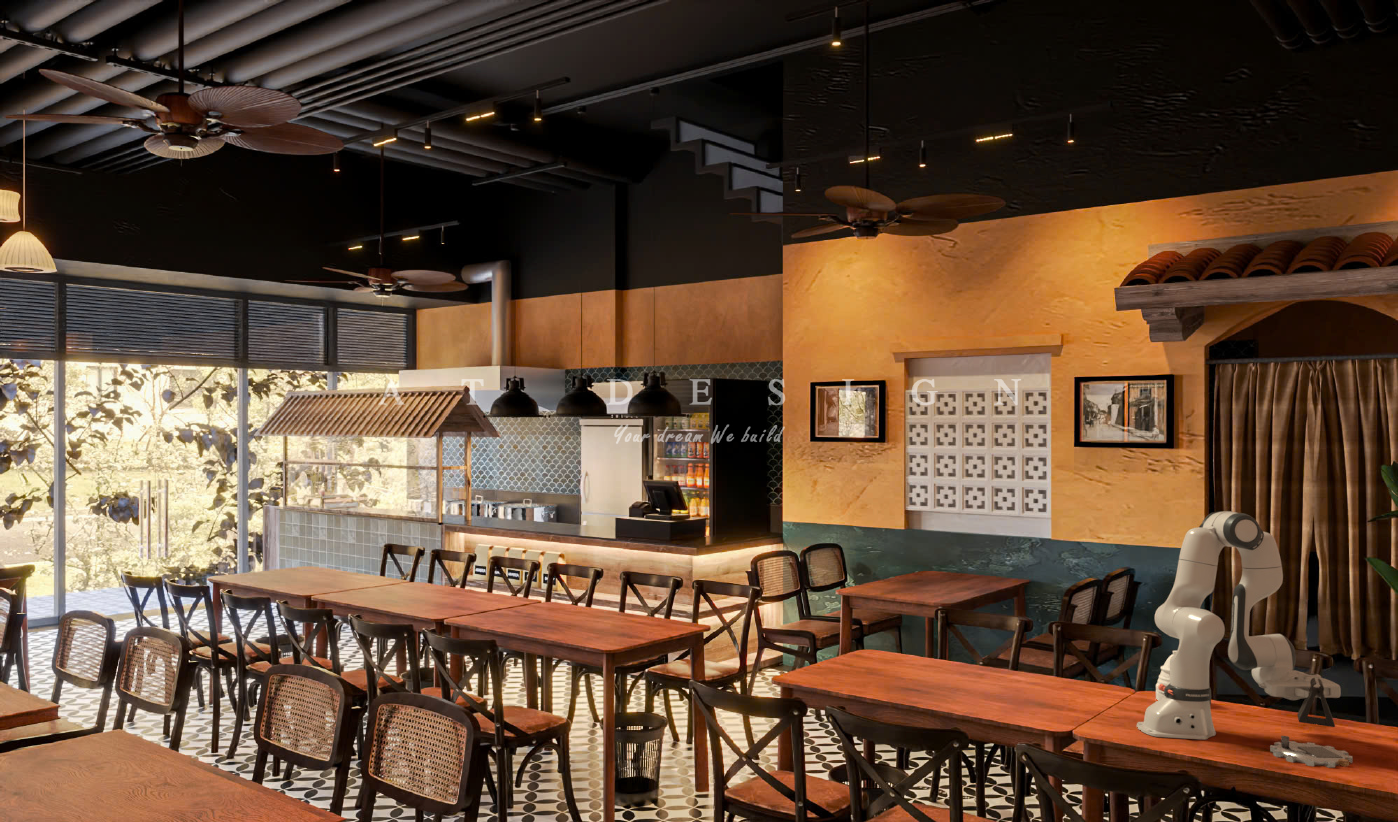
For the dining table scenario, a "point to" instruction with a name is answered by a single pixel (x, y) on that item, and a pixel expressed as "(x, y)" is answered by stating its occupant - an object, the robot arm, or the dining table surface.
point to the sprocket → (1310, 753)
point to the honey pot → (1164, 677)
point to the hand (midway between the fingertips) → (1317, 695)
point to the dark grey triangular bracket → (1307, 705)
